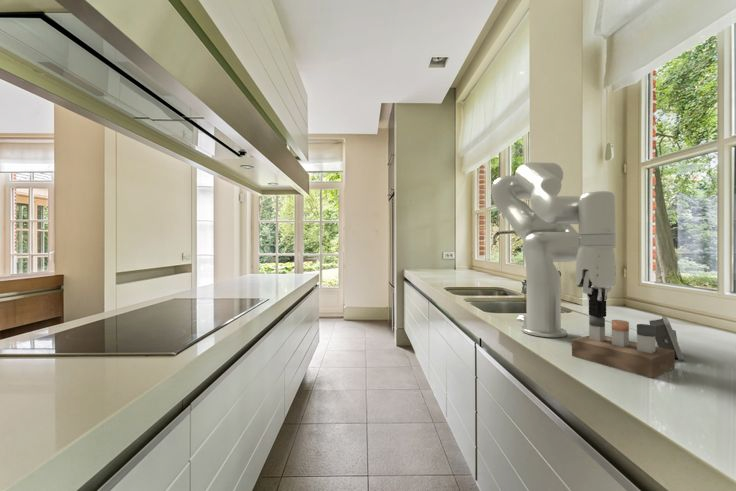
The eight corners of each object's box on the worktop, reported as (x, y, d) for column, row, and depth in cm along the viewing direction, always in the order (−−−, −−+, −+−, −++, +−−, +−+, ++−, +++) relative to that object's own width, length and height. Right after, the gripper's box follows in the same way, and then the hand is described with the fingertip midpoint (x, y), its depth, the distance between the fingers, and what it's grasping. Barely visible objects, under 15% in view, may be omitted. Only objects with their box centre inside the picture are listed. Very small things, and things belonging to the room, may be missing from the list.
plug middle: (609, 345, 78) (608, 320, 78) (616, 343, 80) (615, 319, 80) (624, 348, 75) (624, 323, 75) (631, 346, 77) (631, 321, 77)
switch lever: (586, 339, 83) (586, 316, 83) (593, 338, 84) (593, 315, 84) (600, 343, 80) (600, 319, 80) (607, 341, 81) (607, 317, 81)
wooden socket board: (571, 355, 82) (571, 339, 82) (596, 348, 87) (596, 333, 87) (651, 378, 68) (651, 358, 68) (674, 368, 73) (674, 350, 73)
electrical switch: (684, 362, 77) (678, 322, 78) (655, 359, 81) (649, 321, 81) (679, 352, 85) (674, 315, 85) (653, 350, 88) (648, 315, 89)
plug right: (634, 351, 74) (633, 325, 74) (641, 348, 75) (640, 323, 75) (651, 355, 71) (651, 328, 71) (658, 352, 73) (658, 326, 73)
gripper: (596, 242, 89) (597, 310, 89) (563, 242, 82) (564, 316, 82) (629, 242, 82) (630, 315, 82) (596, 241, 75) (597, 322, 75)
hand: (597, 316), depth 82 cm, fingers closed
